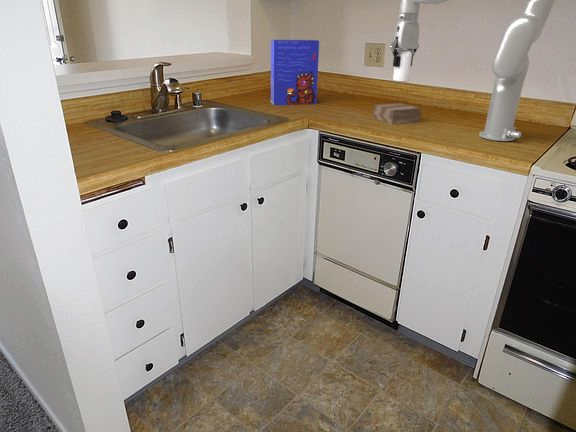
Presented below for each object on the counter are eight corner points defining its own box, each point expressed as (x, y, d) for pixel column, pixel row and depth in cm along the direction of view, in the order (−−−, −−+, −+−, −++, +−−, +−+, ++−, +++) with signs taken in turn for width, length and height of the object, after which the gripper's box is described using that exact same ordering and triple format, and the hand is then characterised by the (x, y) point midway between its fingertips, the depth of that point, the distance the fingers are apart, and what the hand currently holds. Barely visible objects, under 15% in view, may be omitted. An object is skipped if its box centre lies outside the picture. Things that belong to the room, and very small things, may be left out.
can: (408, 82, 178) (412, 51, 173) (392, 81, 179) (396, 50, 174) (408, 80, 184) (412, 50, 179) (392, 79, 185) (396, 49, 180)
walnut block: (419, 122, 185) (421, 108, 183) (392, 125, 180) (393, 110, 177) (399, 116, 197) (400, 102, 194) (372, 118, 192) (374, 104, 189)
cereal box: (312, 103, 222) (315, 39, 209) (316, 105, 216) (319, 40, 204) (270, 104, 216) (271, 39, 204) (273, 106, 211) (274, 39, 199)
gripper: (399, 18, 165) (393, 67, 172) (430, 19, 173) (423, 66, 181) (385, 17, 170) (380, 66, 178) (416, 18, 179) (410, 64, 186)
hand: (402, 65), depth 179 cm, fingers closed on can, 6 cm apart
